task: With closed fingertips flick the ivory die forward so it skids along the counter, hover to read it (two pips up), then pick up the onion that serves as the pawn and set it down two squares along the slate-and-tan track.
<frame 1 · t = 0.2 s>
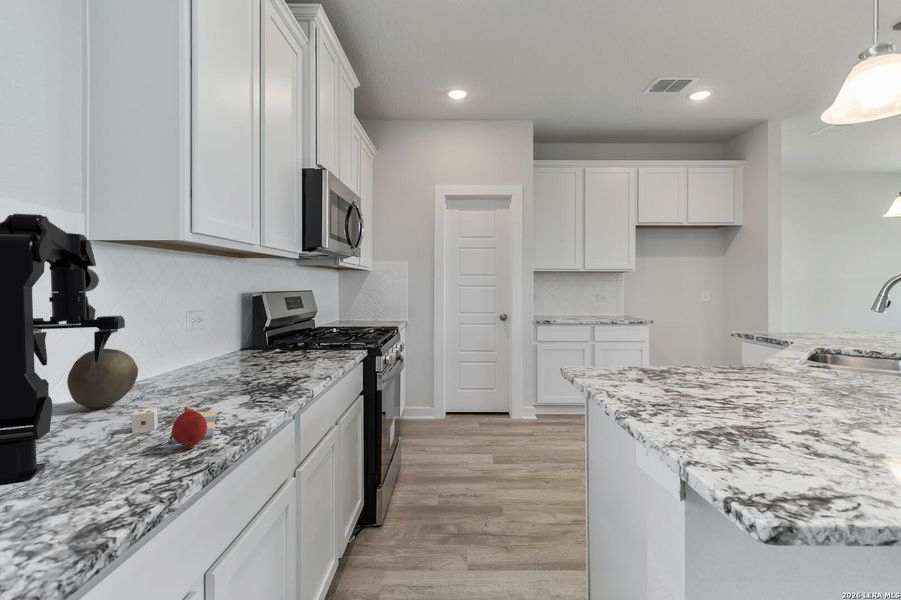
hand: (71, 363, 99), 14 cm above the worktop, fingers open, 9 cm apart
die: (145, 429, 98), on the worktop
track: (196, 427, 99), on the worktop
onion: (190, 449, 86), on the worktop
cantaloupe: (104, 407, 117), on the worktop
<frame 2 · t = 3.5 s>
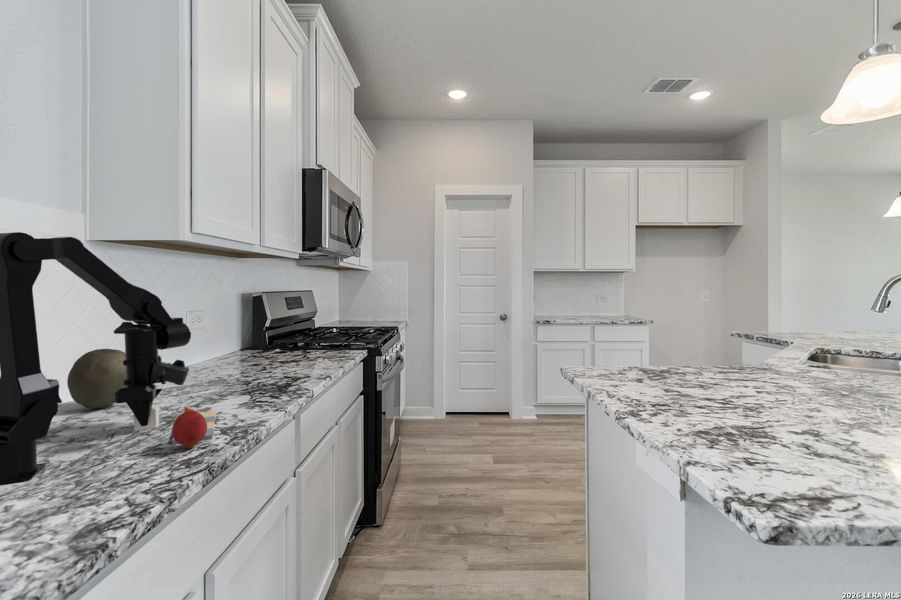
hand: (144, 425, 97), 1 cm above the worktop, fingers closed
die: (147, 426, 100), on the worktop, touching gripper
everything else where it was.
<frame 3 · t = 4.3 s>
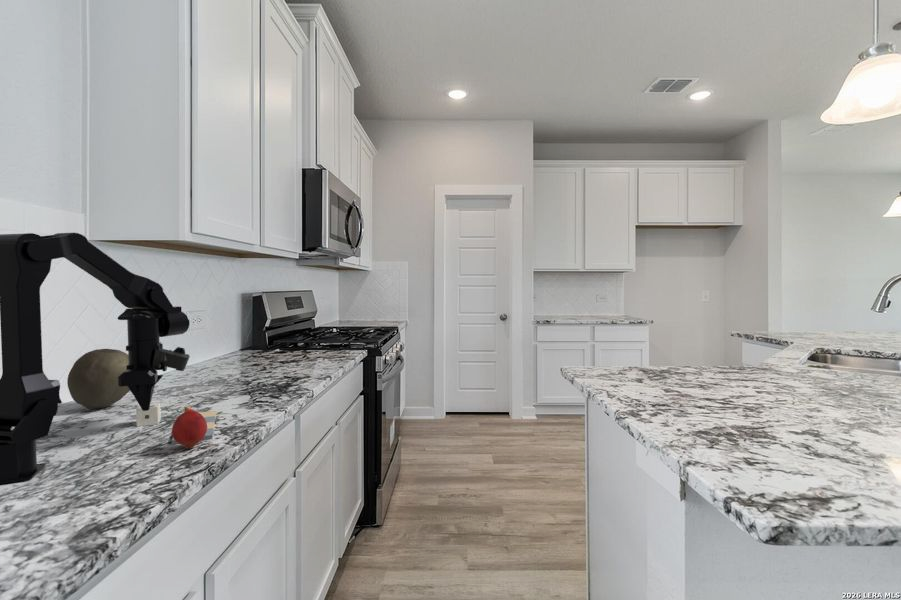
hand: (146, 410, 99), 4 cm above the worktop, fingers closed
die: (149, 423, 103), on the worktop
everything else where it was.
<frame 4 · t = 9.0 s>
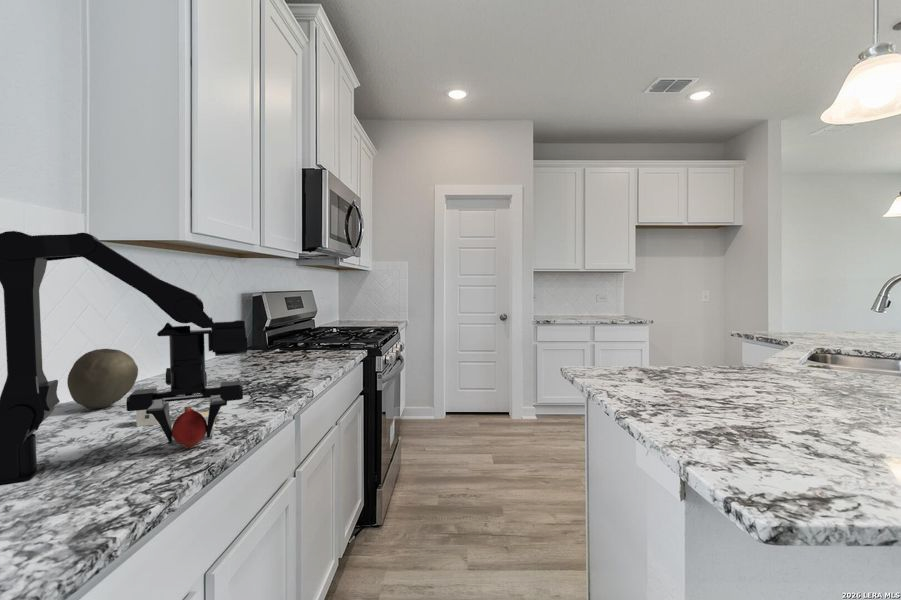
hand: (190, 439, 86), 2 cm above the worktop, fingers closed on onion, 6 cm apart
onion: (190, 449, 86), on the worktop, touching gripper
everything else where it was.
when the fingers open (4 cm above the worktop, at t = 12.8 s): onion drops 1 cm, resting on track.
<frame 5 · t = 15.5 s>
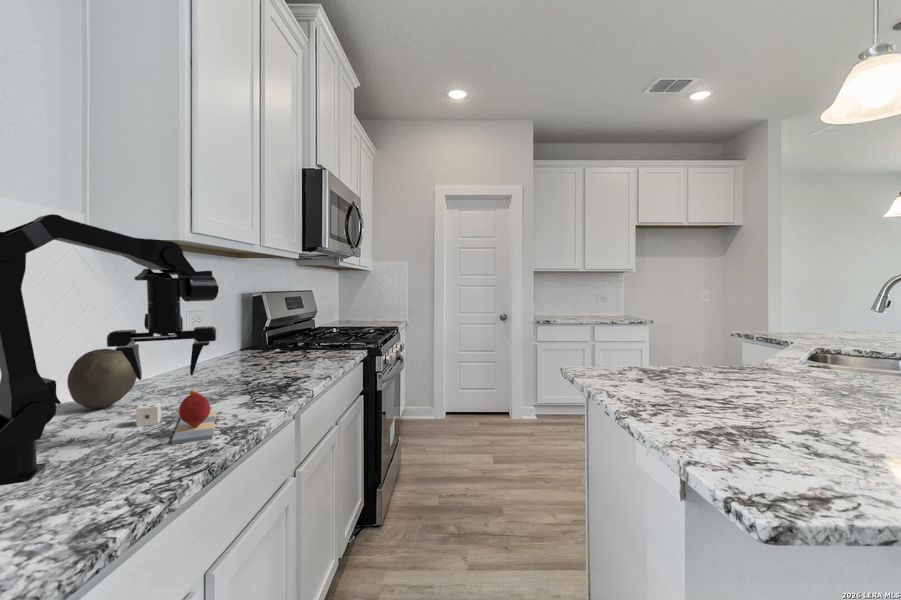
hand: (166, 377, 94), 12 cm above the worktop, fingers open, 9 cm apart
onion: (195, 427, 97), point 1 cm above the worktop, touching track
everything else where it was.
at the end: onion 0.0 cm from the target spot, point 0.6 cm above the worktop; die moved 5.1 cm from its start; the gripper is holding nothing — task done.
